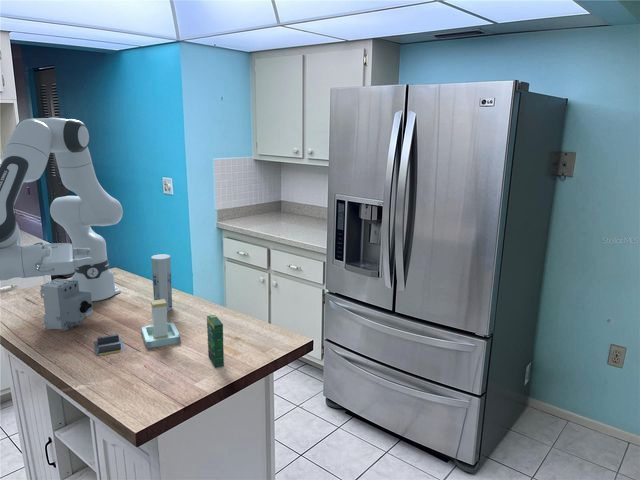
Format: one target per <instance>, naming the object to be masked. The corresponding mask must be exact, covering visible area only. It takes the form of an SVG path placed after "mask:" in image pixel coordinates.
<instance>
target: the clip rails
mask: <svg viewBox="0 0 640 480" xmlns="http://www.w3.org/2000/svg"><path fill="white" fill-rule="evenodd" d="M96 338H97V339H96V340H95V341H93V346H94V355H95V357H98V356H103V355H109V354H114V353H116V354H117V353H121V352H125V351H126V349H125V345H124V341H123V337H122V336H119V334H118V333H116V334H110V335H103V336H97V337H96Z"/></svg>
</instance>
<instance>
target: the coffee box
mask: <svg viewBox="0 0 640 480" xmlns="http://www.w3.org/2000/svg"><path fill="white" fill-rule="evenodd" d="M206 327H207V328H206V329H207V331H206V332H207V351H208V353H207V354H208V358H209V359H210V361H211V364H212V365H213V367H214V368H215V369H218V368H219V369H220V368H223V367H224V366H225V360H224V359H225V358H224V356H225V354H224V323H223V322H222V321H221V320H220V318H219V317H218V316H217V315H216V314H211V315H210V314H209V315H207V316H206Z"/></svg>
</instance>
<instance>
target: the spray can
mask: <svg viewBox="0 0 640 480" xmlns="http://www.w3.org/2000/svg"><path fill="white" fill-rule="evenodd" d="M150 258H151V260H150V261H151V272H152V274H151V275H152V288H153V289H152V290H153V301H154V300H161V299H165V301H166V303H167V312H169V311H172V309H173V291H172V288H173V287H172V268H171V267H172V266H171V265H172V264H171V263H172V262H171V255H170V254H166V253H165V254H161V253H160V254H159V253H158V254H154V255H152V256H151V257H150Z"/></svg>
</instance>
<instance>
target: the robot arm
mask: <svg viewBox="0 0 640 480" xmlns="http://www.w3.org/2000/svg"><path fill="white" fill-rule="evenodd" d="M90 139H91V138H90V131H89V129H88V127H87V126H86V125H85V123H84V122H83V121H80V120H77V119H74V118H69V119H68V118H67V119H66V118H61V117H47V118H46V117H41V118H39V117H38V118H33V117H30V118H23V119H21V120H20V121H19V122H18V123H17V124H16V125H15V128H14V130H13V131H12V133H11V135H10V137H9V139H8V141H7V144H6V146H5V149H4V152H3V155H2V159H1V163H0V281H1V282H2V281H8V280H11V279H15V278H16V279H17V278H21V279H28V278H39V277H45V276H62V275H70V274H73V273H74V274H73V275H72V276H71V277H70V280H77V281H78V284H79V291H81V292H90V293H91V298H92V302H97V301H102V300H106V299H109V298H111V297H113V296H114V295H117V294H120V293H121V292H122V291H121V289H120V288H119V287H118V286H117V285H116V284H115V274H114V273H113V271H111V270H110V262H109V259H108V255H107V253H108V252H107V242H106V240H105V238H104V237H103V236H102V235H100V234H98V233H96V232H95V230H93V229H92V227H108V226H113V225H117V224H118V223H119V222H120V221H121V220H122V218H123V216H124V215H123V214H124V210H123V205H122V204H121V203H120V201H119V200H118V199H116V198H115V197H113V196H111V195H110V194H109V193H108V192H107V191H106V190H105V189H104V188H103V187H102V185H101V183H99V180H98V178H97V175H96V171H95V168H94V165H93V161H92V156H91V153H90V149H89V147H88V146H89V144H90ZM50 154H54V157H55V160H56V161H55V162H56V166H57V169H58V172H59V176H60V178H61V179H60V180H61V183H62V185H63V186H64V187H65V189H67V190H68V191H71V192H73V194H76V195H65V196H59V197H55V198H54V200H53V201H52V202H51V204H50V206H49V214H50V216H51V218H52V219H53V221H54V222H56V223H57V224H58V225H60V227H62V228H63V230H65V232H66V233H67V235H68V236H69V238H70V240H71V243H70V242H57V243H52V242H51V243H44V242H43V241H42V242H36V243H33V244H32V245H31V244H30V245H22V246H21V241H22V232H21V229H20V227H19V224H18V221H17V218H16V214H15V205H16V201H17V200H18V197H19V195H20V191H21V189H22V186H23V185H24V183H33V182H35V181H37V180H39V179H40V178H41V176H42V175H43V173H44V171H45V170H46V168H47V164H48V161H49V158H50Z"/></svg>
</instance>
